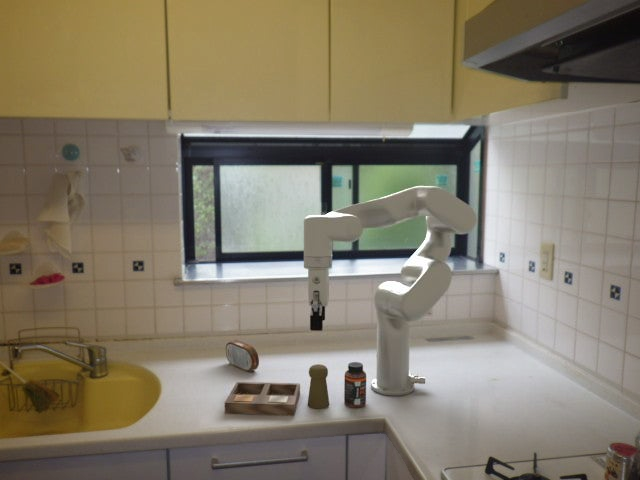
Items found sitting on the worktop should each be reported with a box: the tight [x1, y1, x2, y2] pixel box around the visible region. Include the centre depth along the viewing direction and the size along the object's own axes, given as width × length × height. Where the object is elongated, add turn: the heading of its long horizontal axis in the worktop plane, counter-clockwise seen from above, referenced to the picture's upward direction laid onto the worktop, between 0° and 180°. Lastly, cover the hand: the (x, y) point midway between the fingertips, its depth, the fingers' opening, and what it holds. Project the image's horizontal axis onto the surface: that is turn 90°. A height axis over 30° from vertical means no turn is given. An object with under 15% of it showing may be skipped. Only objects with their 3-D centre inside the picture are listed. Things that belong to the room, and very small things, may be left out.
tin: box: [225, 339, 260, 373], centre depth 169 cm, size 15×3×8 cm, turn 45°
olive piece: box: [307, 363, 330, 411], centre depth 141 cm, size 6×6×11 cm
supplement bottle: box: [343, 361, 367, 409], centre depth 141 cm, size 6×6×11 cm
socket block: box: [224, 381, 301, 417], centre depth 143 cm, size 18×14×3 cm
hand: (317, 325), depth 139 cm, fingers open, 9 cm apart
